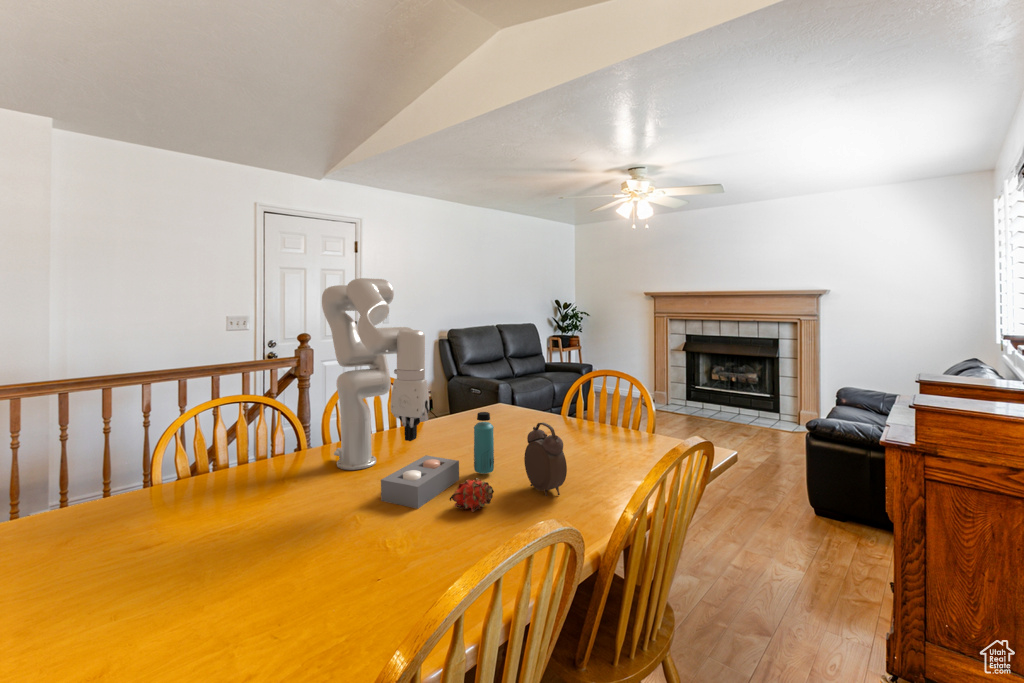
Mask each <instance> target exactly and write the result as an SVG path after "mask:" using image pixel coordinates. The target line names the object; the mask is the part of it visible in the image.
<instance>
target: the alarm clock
mask: <svg viewBox="0 0 1024 683" xmlns="http://www.w3.org/2000/svg"><path fill="white" fill-rule="evenodd" d="M540 426H543V427H546V428H547V429H549V431H550V433H551V434H550V435H548V434H547V433H545V431H544V430H543V429H539V428H540ZM532 429H533V430H532V431H530V432H528V435H527V437H526V438H527V443H528V444H527V445H526V448H525V451H524V457H523V458H524V460H523V461H524V467H525V468H524V469H525V472H526V473H525V474H526V476H527V478H528V481H529V482H530V484H529V485H530V487H533V488H534V489H536V490H537V491H539V492H543V491H544V495H545V497H547V496H548V491H551V490H554V489H555V491H556V493H557V496H561V495H560V489H559V488H560V487H561V486H563V484H564V483H565V482H566V479H567V474H568V473H567V472H568V468H567V460H566V456H565V454H564V441H563V440H562V439H561V437H560V436H558V435H556V432H555V429H554V428H553V426H551V425H550V424H548V423H546V422H538V423H536V426H533V428H532Z"/></svg>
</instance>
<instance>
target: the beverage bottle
mask: <svg viewBox="0 0 1024 683" xmlns="http://www.w3.org/2000/svg"><path fill="white" fill-rule="evenodd" d="M476 420H477V421H479V422H477V423H476V424H475V425H474V426H473V469H474V472H475V473H478V474H489V473H492V472H493V471H494V468H495V454H494V453H495V449H494V448H495V447H494V445H495V441H494V425H493V424H492V423H491V422H489V421H490V420H491V413H490V412H489V411H488V412H487V411H479V412H477V416H476Z"/></svg>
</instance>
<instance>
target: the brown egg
mask: <svg viewBox="0 0 1024 683" xmlns="http://www.w3.org/2000/svg"><path fill="white" fill-rule="evenodd" d="M439 466H440V461H439V460H435V459H430V460H426V461H424V462H423V467H427V468H432V469H435V468H437V467H439Z"/></svg>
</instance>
